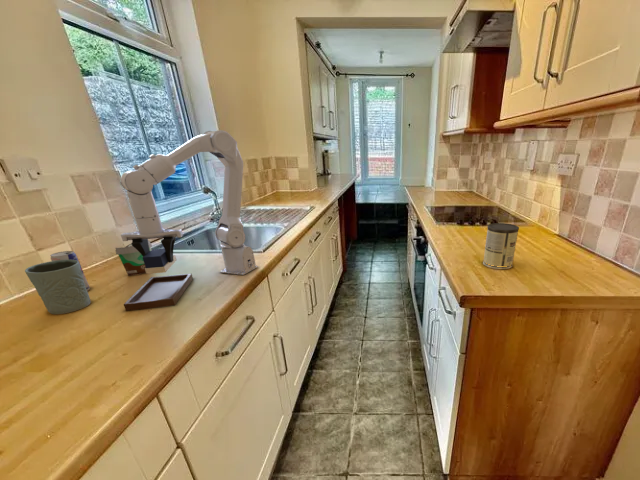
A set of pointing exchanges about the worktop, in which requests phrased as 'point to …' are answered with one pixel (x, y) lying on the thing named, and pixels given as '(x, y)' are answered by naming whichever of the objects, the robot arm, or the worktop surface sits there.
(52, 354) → the worktop surface
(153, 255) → the board eraser
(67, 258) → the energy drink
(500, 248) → the coffee can
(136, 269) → the food container
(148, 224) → the robot arm
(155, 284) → the tray
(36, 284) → the grey plant pot
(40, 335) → the worktop surface
